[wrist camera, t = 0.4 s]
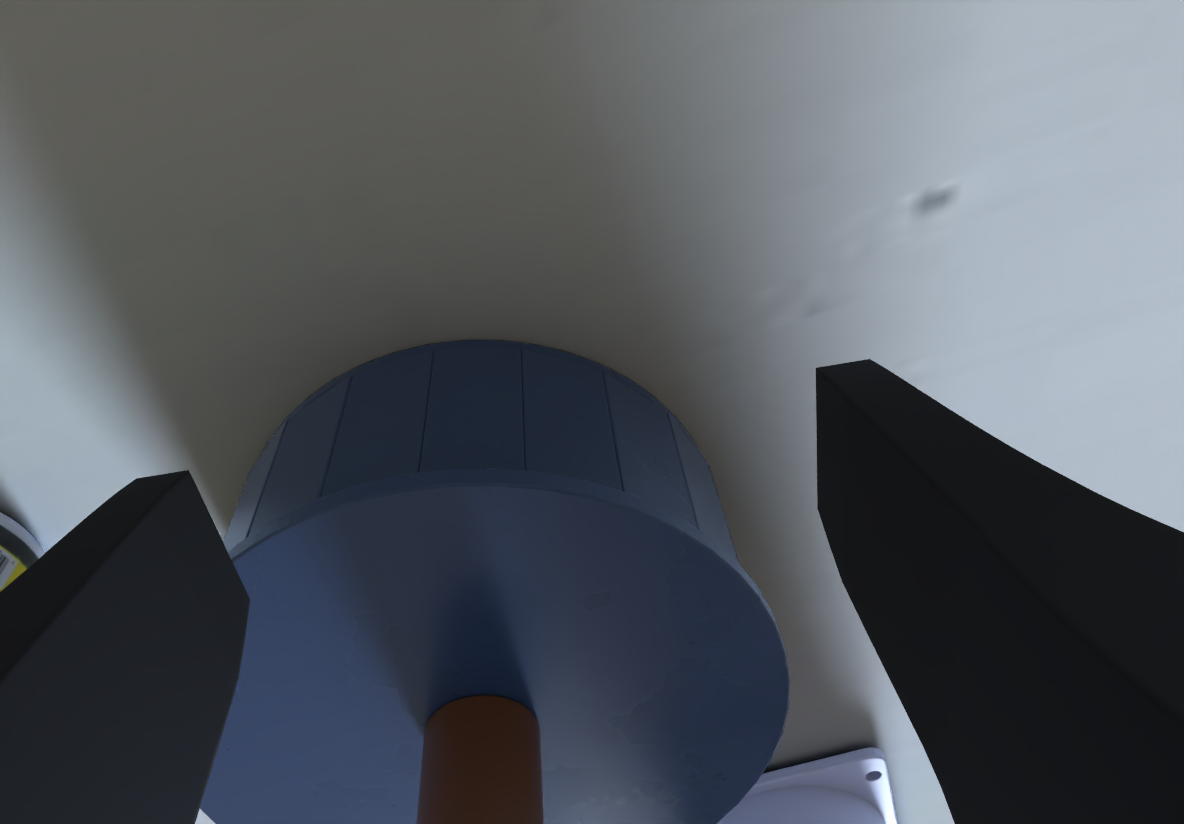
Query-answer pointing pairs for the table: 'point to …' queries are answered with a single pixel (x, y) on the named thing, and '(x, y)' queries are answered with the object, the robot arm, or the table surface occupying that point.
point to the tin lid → (495, 660)
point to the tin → (481, 431)
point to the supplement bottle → (15, 550)
